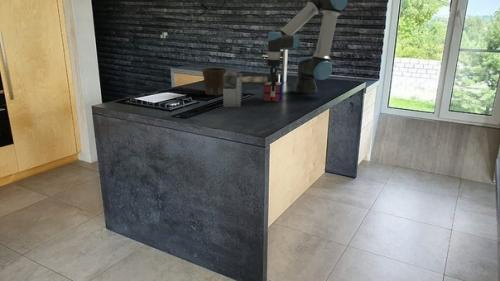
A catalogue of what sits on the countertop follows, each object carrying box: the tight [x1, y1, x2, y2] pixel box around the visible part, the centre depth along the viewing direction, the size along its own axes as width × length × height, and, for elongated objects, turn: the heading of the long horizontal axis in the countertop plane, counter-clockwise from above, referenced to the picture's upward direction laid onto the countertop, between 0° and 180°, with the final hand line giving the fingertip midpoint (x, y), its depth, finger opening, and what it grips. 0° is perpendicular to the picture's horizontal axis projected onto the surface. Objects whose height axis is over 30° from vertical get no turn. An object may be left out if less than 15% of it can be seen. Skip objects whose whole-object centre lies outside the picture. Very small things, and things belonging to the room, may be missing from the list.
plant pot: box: [201, 67, 228, 96], centre depth 254 cm, size 16×16×16 cm
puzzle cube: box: [263, 81, 283, 103], centre depth 238 cm, size 10×10×10 cm
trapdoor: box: [223, 72, 268, 86], centre depth 226 cm, size 24×16×6 cm, turn 89°
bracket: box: [222, 72, 243, 108], centre depth 227 cm, size 10×19×16 cm, turn 179°
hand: (272, 94), depth 238 cm, fingers open, 13 cm apart
